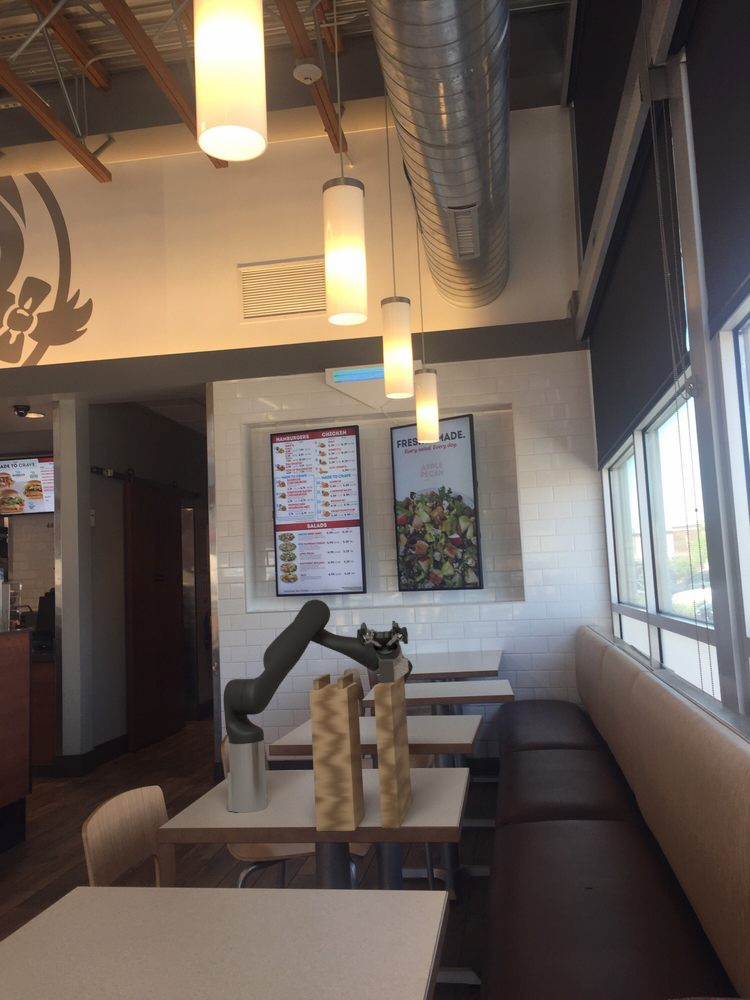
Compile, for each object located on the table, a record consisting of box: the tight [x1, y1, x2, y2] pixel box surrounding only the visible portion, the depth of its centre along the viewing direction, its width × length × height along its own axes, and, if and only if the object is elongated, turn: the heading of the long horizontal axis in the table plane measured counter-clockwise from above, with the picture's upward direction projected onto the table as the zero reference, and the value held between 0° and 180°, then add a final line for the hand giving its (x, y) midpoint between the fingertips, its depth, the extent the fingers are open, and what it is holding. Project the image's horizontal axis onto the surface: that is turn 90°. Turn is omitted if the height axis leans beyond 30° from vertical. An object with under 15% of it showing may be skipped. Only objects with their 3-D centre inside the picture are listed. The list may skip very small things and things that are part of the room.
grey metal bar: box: [378, 657, 409, 683], centre depth 214 cm, size 25×4×5 cm, turn 170°
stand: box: [309, 672, 413, 832], centre depth 204 cm, size 19×24×34 cm
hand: (378, 624), depth 231 cm, fingers open, 8 cm apart
